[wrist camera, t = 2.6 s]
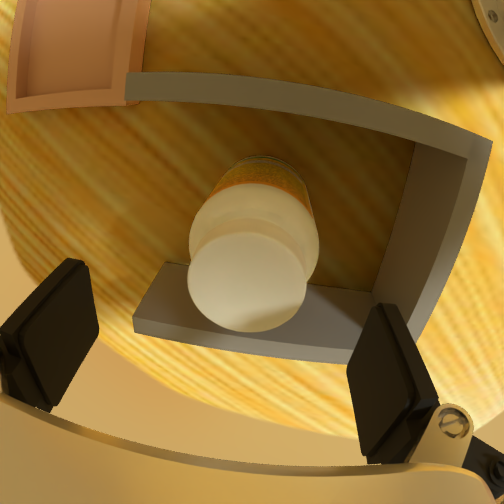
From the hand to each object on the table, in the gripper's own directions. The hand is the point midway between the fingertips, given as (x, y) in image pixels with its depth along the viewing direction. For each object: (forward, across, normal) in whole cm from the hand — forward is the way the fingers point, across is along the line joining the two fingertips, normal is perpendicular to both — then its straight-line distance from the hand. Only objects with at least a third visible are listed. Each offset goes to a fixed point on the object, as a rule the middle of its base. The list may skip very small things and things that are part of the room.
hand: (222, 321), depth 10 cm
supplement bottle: (+11, -1, -1) cm, 11 cm away
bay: (+10, -3, -1) cm, 11 cm away
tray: (+11, +12, -12) cm, 20 cm away
